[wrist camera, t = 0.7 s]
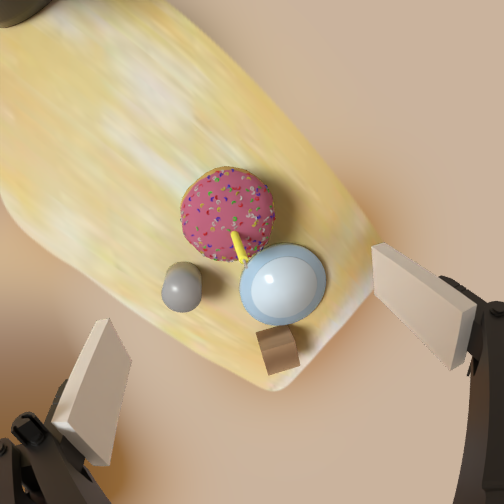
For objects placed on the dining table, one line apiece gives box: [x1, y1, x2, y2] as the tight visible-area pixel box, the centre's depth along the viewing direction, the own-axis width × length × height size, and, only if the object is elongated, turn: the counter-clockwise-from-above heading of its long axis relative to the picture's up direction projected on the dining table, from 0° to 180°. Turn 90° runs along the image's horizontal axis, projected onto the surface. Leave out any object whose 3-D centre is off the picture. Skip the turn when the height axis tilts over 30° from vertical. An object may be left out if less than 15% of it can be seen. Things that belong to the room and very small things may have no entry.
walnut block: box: [256, 325, 300, 375], centre depth 36 cm, size 4×4×4 cm
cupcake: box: [180, 166, 275, 269], centre depth 26 cm, size 9×8×12 cm
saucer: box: [239, 243, 326, 326], centre depth 35 cm, size 10×10×1 cm
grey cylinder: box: [162, 262, 202, 312], centre depth 31 cm, size 4×4×4 cm
